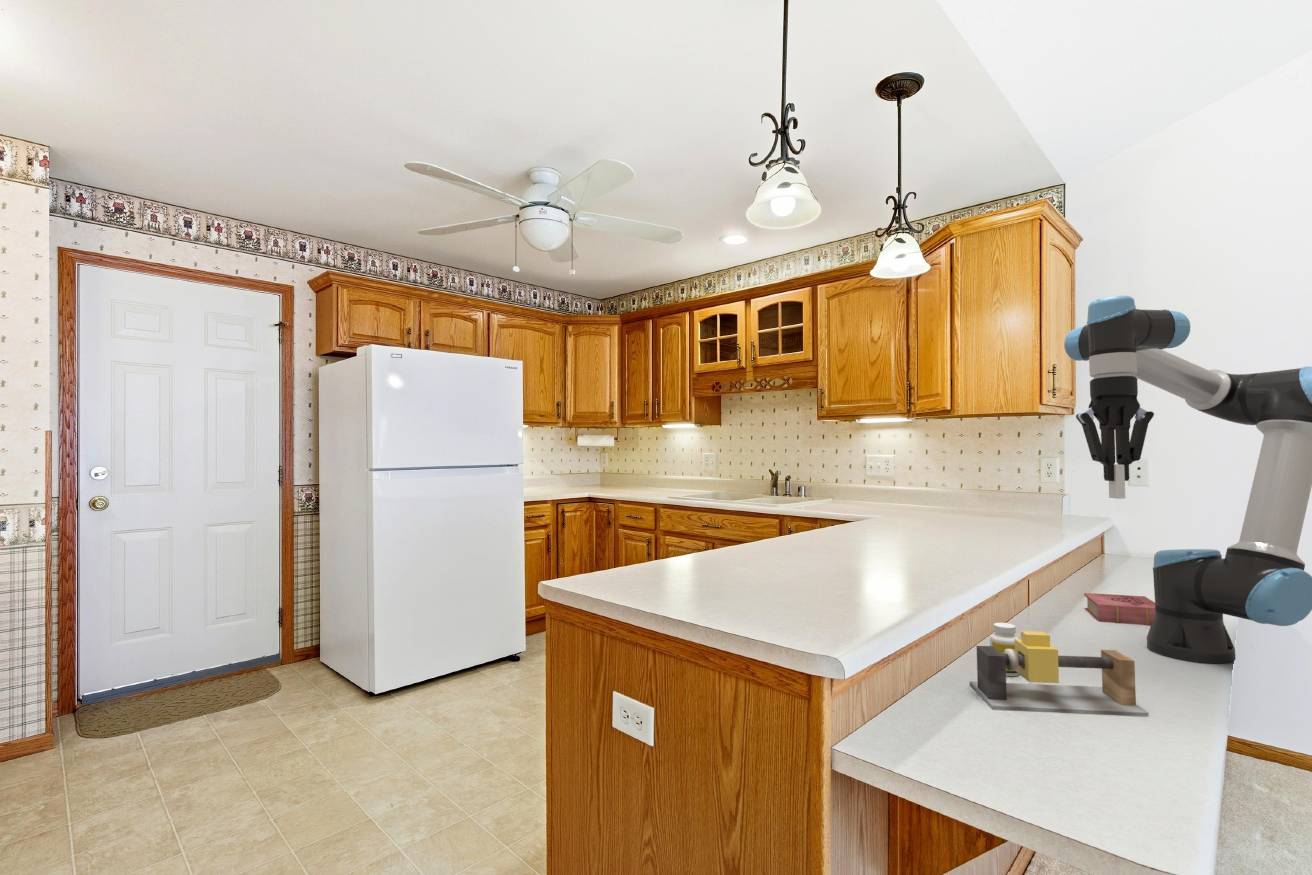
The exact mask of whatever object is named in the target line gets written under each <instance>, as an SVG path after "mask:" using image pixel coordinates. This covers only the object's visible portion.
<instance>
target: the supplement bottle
mask: <svg viewBox="0 0 1312 875" xmlns="http://www.w3.org/2000/svg"><path fill="white" fill-rule="evenodd" d="M1016 629H1017V628H1016V625H1014V624H1012V623H1007V622H995V623H993V632H994V633H992V634H990V637H989V646H994V647H995V648H996V649H997V650H998V651H1000V652H1001V653H1002V654H1004V650H1005V649H1014V650H1015V643H1014V639H1020V638H1019V637H1018V636H1017V635H1015V634H1016V633H1017V632H1016ZM1019 676H1021V675H1020V674H1019V673H1017V672H1016V671H1013V670H1008V669H1007V668H1006V677H1019Z"/></svg>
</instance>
